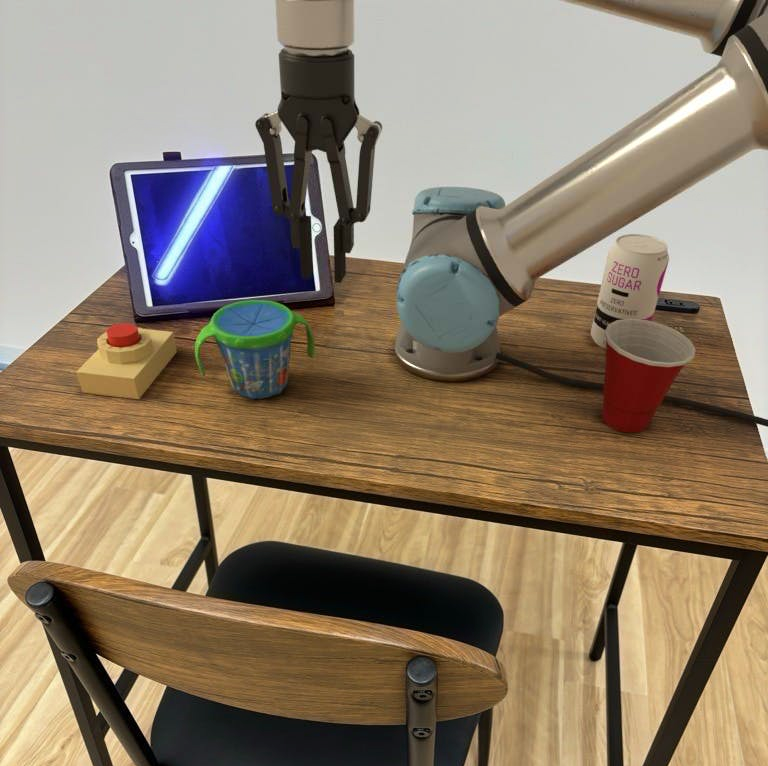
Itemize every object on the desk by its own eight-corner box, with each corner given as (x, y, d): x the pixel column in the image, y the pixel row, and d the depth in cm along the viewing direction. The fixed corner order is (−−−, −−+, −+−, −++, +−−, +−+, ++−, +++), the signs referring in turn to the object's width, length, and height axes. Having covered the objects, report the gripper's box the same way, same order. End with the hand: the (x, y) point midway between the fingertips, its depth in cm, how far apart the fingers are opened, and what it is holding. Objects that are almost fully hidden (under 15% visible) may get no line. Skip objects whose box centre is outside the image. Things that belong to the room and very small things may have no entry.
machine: (125, 346, 108) (117, 314, 104) (177, 352, 107) (171, 320, 103) (82, 392, 98) (72, 359, 95) (138, 399, 97) (131, 366, 94)
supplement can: (642, 331, 115) (668, 235, 105) (646, 357, 109) (675, 257, 99) (589, 325, 116) (610, 230, 106) (590, 351, 110) (613, 252, 100)
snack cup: (204, 414, 95) (192, 343, 88) (198, 373, 102) (187, 304, 96) (323, 400, 98) (320, 330, 91) (309, 361, 106) (306, 294, 99)
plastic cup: (673, 450, 91) (703, 365, 83) (584, 438, 93) (605, 353, 85) (666, 404, 99) (692, 322, 91) (584, 393, 101) (603, 312, 93)
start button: (117, 333, 101) (114, 321, 100) (144, 336, 101) (142, 324, 99) (104, 347, 98) (101, 335, 97) (132, 350, 98) (129, 338, 96)
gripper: (404, 46, 75) (396, 270, 90) (248, 36, 76) (266, 257, 92) (391, 60, 69) (385, 296, 84) (223, 49, 71) (248, 282, 86)
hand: (323, 275), depth 88 cm, fingers open, 3 cm apart
